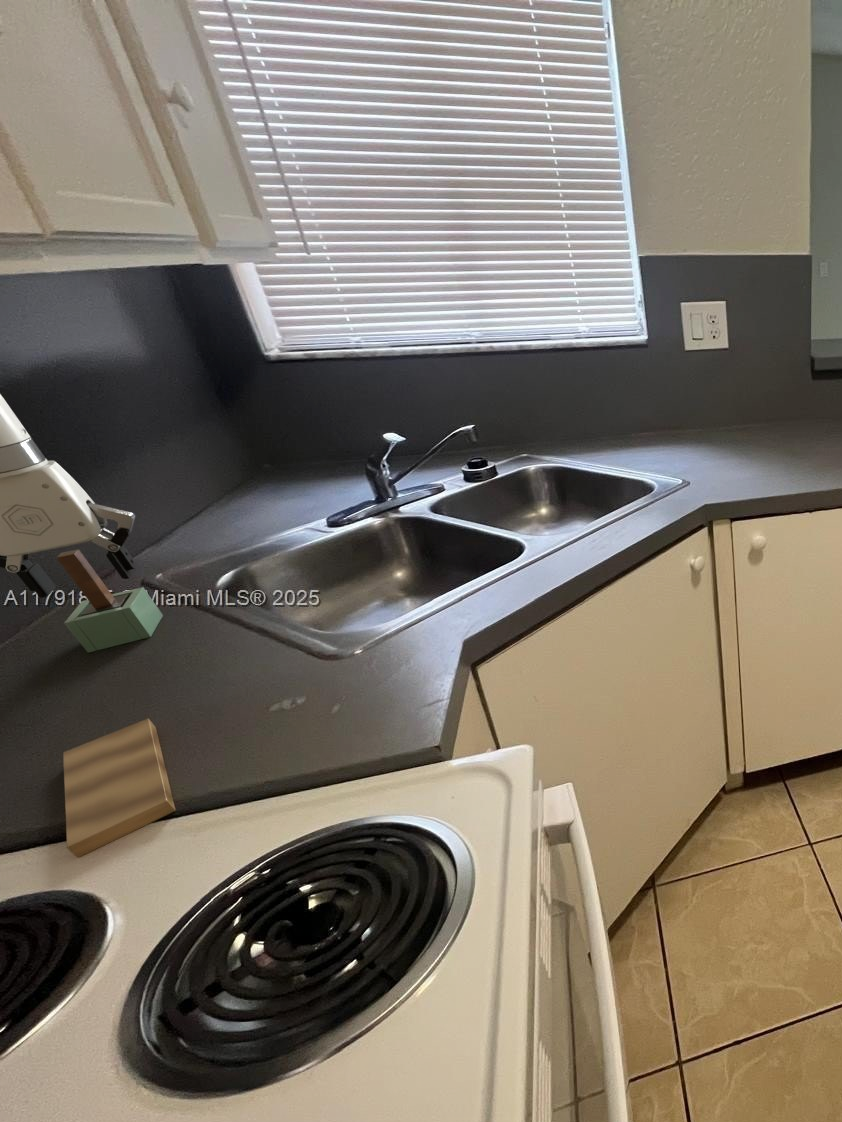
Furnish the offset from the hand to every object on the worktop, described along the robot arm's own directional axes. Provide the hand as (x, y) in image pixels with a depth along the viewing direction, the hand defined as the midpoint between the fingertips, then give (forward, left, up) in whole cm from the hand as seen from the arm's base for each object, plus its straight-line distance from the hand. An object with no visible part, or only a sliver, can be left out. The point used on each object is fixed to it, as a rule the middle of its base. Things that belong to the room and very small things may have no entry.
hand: (89, 583), depth 86 cm
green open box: (0, 0, -8) cm, 8 cm away
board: (+8, -39, -8) cm, 41 cm away
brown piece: (0, 0, -8) cm, 8 cm away
